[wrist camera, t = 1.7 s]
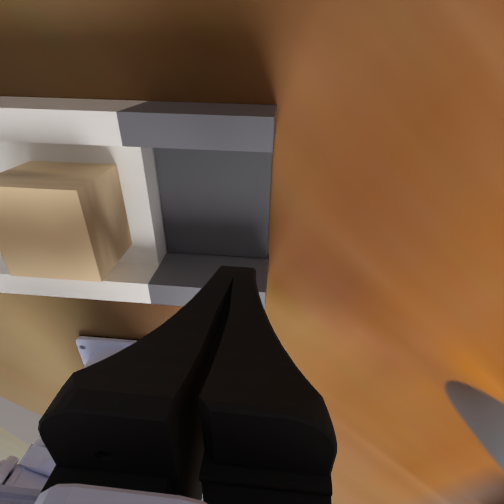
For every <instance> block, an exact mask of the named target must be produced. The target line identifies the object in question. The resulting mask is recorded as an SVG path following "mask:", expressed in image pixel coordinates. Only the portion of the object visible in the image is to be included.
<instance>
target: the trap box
mask: <svg viewBox="0 0 504 504" xmlns="http://www.w3.org/2000/svg"><path fill="white" fill-rule="evenodd" d="M276 108H277V105H263V104H232V103H200V102H168V101H137V100H105V99H73V98H42V97H10V96H0V173H1V172H3V171H6V170H8V169H11V168H13V167H16V166H18V165H20V164H23V163H25V162H28V161H48V162H70V163H92V164H114V165H117V169H118V174H119V179H120V184H121V189H122V194H123V199H124V204H125V209H126V214H127V219H128V225H129V230H130V235H131V240H132V245H131V246H130V248H129V249H128V250H127V251H126V253H125V254H124V255H123V256H122V257H121V259H120V260H119V261H118V262H117V264H116V265H115V266H114V267H113V269H112V270H111V271H110V272H109V273H108V275H107V276H106V277H105V278H104V280H103V281H102V282H93V281H79V280H65V279H51V278H37V277H22V276H11V275H10V273H9V271H8V269H7V266H6V264H5V262H4V260H3V257H2V255H1V253H0V293H13V294H26V295H40V296H53V297H67V298H80V299H94V300H107V301H120V302H134V303H147V304H161V305H174V306H184V305H185V304H187V303H188V302H189V301H190V300H191V299H192V298H193V297H194V296H195V295H196V294H197V293H198V292H199V290H200V289H201V288H202V287H203V286H204V285H205V284H206V283H207V282H208V281H209V279H210V278H211V277H212V276H213V275H214V273H215V272H216V271H217V270H218V268H219V267H221V266H236V267H251V268H254V269H255V270H256V283H257V288H258V292H259V295H260V298H261V302H262V305H263V307H264V310H265V301H266V289H267V277H268V260H269V256H267V258H259V257H243V256H228V255H212V254H196V253H180V252H168V249H167V241H166V234H165V226H164V219H163V212H162V204H161V197H160V189H159V182H158V174H157V167H156V159H155V152H154V148H174V149H198V150H222V151H246V152H270V153H273V146H274V139H275V127H276Z"/></svg>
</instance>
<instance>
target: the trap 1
mask: <svg viewBox="0 0 504 504" xmlns="http://www.w3.org/2000/svg"><path fill="white" fill-rule="evenodd" d="M154 152H155V159H156V167H157V174H158V182H159V189H160V197H161V204H162V212H163V219H164V226H165V234H166V241H167V249H168V252H180V253H196V254H212V255H228V256H243V257H259V258H267V251H268V231H269V211H270V191H271V171H272V153H270V152H246V151H222V150H198V149H174V148H154Z"/></svg>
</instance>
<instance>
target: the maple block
mask: <svg viewBox="0 0 504 504" xmlns="http://www.w3.org/2000/svg"><path fill="white" fill-rule="evenodd" d="M131 245H132V240H131V235H130V230H129V225H128V219H127V214H126V209H125V204H124V199H123V194H122V189H121V184H120V179H119V174H118V169H117V165H114V164H92V163H70V162H48V161H28V162H25V163H23V164H20V165H18V166H16V167H13V168H11V169H8V170H6V171H3V172H1V173H0V253H1V255H2V257H3V260H4V262H5V264H6V266H7V269H8V271H9V273H10V275H11V276H22V277H37V278H51V279H65V280H79V281H93V282H102V281H103V280H104V278H105V277H106V276H107V275H108V273H109V272H110V271H111V270H112V269H113V267H114V266H115V265H116V264H117V262H118V261H119V260H120V259H121V257H122V256H123V255H124V254H125V253H126V251H127V250H128V249H129V248H130V246H131Z"/></svg>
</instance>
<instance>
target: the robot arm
mask: <svg viewBox="0 0 504 504" xmlns="http://www.w3.org/2000/svg"><path fill="white" fill-rule="evenodd" d="M76 344H77V347H78V350H79V353H80V355H81V358H82V361H83V364H84V368H83V369H81V370H79V371H76V372H74V373H73V374H72V375H71V376H70V378H69V379H68V380H67V381H66V383H65V384H64V385H63V387H62V388H61V389H60V391H59V392H58V394H57V395H56V397H55V398H54V400H53V401H52V403H51V404H50V406H49V407H48V409H47V410H46V412H45V413H44V415H43V416H42V418H41V419H40V421H39V426H38V430H39V433H40V436H39V437H38V439H37V440H36V442H35V443H34V444H32V445H31V446H30V448H29V449H28V451H27V452H26V454H25V455H24V457H23V458H22V460H21V461H20V463H19V464H18V465H17V462H18V460H19V458H17V457H15V456H10V457H8V458H7V459H6V460H2V461H0V504H331V496H332V481H331V471H332V468H333V464H334V461H335V457H336V454H337V441H336V436H335V432H334V428H333V424H332V421H331V418H330V415H329V412H328V410H327V407H326V405H325V402H324V400H323V397H322V396H321V395H320V394H319V393H318V392H317V390H316V389H315V388H314V387H313V386H312V385H311V384H310V383H309V381H308V380H307V379H306V378H305V377H304V375H303V374H302V373H301V372H300V370H299V369H298V368H297V367H296V365H295V364H294V362H293V361H292V359H291V358H290V356H289V355H288V354H287V352H286V351H285V349H284V348H283V346H282V344H281V343H280V341H279V339H278V338H277V336H276V334H275V332H274V330H273V328H272V326H271V324H270V322H269V320H268V317H267V315H266V313H265V310H264V307H263V305H262V302H261V298H260V295H259V292H258V288H257V283H256V270H255V269H254V268H251V267H236V266H221V267H219V268H218V270H217V271H216V272H215V273H214V275H213V276H212V277H211V278H210V279H209V281H208V282H207V283H206V284H205V285H204V286H203V287H202V288H201V289H200V290H199V292H198V293H197V294H196V295H195V296H194V297H193V298H192V299H191V300H190V301H189V302H188V303H187V304H185V305H184V306H183V307H182V308H181V309H180V310H179V311H178V312H177V313H176V314H174V315H173V316H172V317H171V318H170V319H168V320H167V321H166V322H165V323H163V324H162V325H161V326H159V327H158V328H157V329H155V330H154V331H152V332H151V333H149V334H148V335H146V336H144V337H143V338H141V339H140V340H138V341H136V340H123V339H111V338H99V337H87V336H79V337H78V338H77V339H76ZM202 493H203V501H201V499H202Z"/></svg>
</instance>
